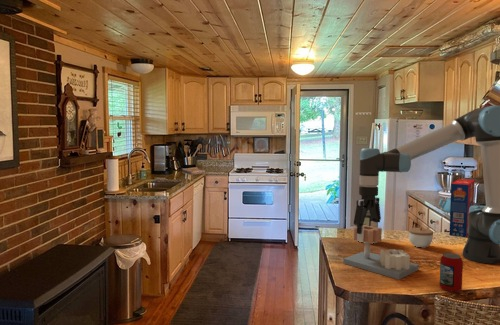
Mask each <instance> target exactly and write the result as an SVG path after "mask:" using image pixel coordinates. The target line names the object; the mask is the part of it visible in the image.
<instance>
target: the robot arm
mask: <svg viewBox="0 0 500 325" xmlns="http://www.w3.org/2000/svg"><path fill="white" fill-rule="evenodd" d="M470 138H475V143H476V144H477V145H479V146H480V153H481V155H480V156H481V166H482V175H483V186H484V198H485V205H474V206H471V207H470V208H469V213H468V214H469V220H468V236H467V240H466V241H465V244H464V247H463V249H462V257H463V258H465V259H466V260H469V261H472V262H477V263H483V264H490V265H491V264H492V265H493V264H494V265H496V264H497V265H498V264H500V105H490V106H483V107H478V108H476V109H475V108H474V109H472V110H470V111H469V112H466V113H465V114H463V115H461V116H458V117H457V118H455V119H453V120H451V123H449V124H448V125H445V126H442V127H440V128H438V129H435V130H434V131H431V132H429V133H427V134H425V135H422V136H419V137H418V138H415V139H413V140H411V141H408V142H406V143H404V144H401V145H399V146H398V147H395V148H392V149H391V150H389V151H384V152H380V149H379V148H374V147H373V148H372V147H371V148H370V147H369V148H368V147H366V148H362V149H361V150H360V153H359V154H360V155H359V156H360V157H359V178H358V179H359V182H358V183H359V186H358V194H359V195H360V196H361V199H357V200H356V209H355V213H354V219H353V225H355V226H357V240H356V241H357V242H358V241H359V243H361V242H364V226H363V223H364V220H365V217H366V213H367V212H370V215H371V219H372V221H373V222H372V221H371V226H375V227H376V228H377V222H378V223H380V222H381V220H382V216H381V208H380V207H381V206H380V197H377V196H378V195H379V187H378V186H379V182H380V181H379V176H380V175H379V174H380V173H379V172H382V173H384V172H385V173H388V172H389V173H408V172H409V171H410V170H411V166H412V161H413V160H415V159H417V158H420V157H421V156H424V155H426V154H428V153H431V152H433V151H436V150H438V149H440V148H443V147H446V146H447V145H450V144H452V143H454V142H456V141H465V140H467V139H470Z"/></svg>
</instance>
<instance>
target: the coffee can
mask: <svg viewBox="0 0 500 325" xmlns="http://www.w3.org/2000/svg"><path fill="white" fill-rule="evenodd" d="M371 221H372V219H371V215H370V212H369V211H367V213H366V217H365V220H364V223H363V225H367V226H371ZM372 222H373V221H372ZM377 228H379V222H377ZM365 243H367V242H364V243H363V244H365ZM373 243H374V244H376V243H375V242H373Z"/></svg>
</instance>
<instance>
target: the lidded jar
mask: <svg viewBox="0 0 500 325" xmlns="http://www.w3.org/2000/svg"><path fill="white" fill-rule="evenodd" d="M408 238H409V241H410V243H411V244H412V245H414V246H416V247H415V248H417V247H422V248H421V249H425V248H424V247H427V248H428V247H429V246H430V245H431V244H432V242H433V239H434V231H433V230H431V229H428V228H423V227H422V226H420V227H411V228H409V229H408Z"/></svg>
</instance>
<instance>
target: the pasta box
mask: <svg viewBox="0 0 500 325" xmlns="http://www.w3.org/2000/svg"><path fill="white" fill-rule="evenodd" d="M475 181H476V180H475V179H462V178H458V179H456V180H455V181H453V182H452V183H451V184H450V185H451V186H450V199H451V205H450V213H449V231H448V232H449V236H451V237H458V238H467V239H468V220H469V214H468V213H469V208H470V207H471V206H475V205H474V204H475V202H474V201H475V199H474V198H475Z"/></svg>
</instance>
